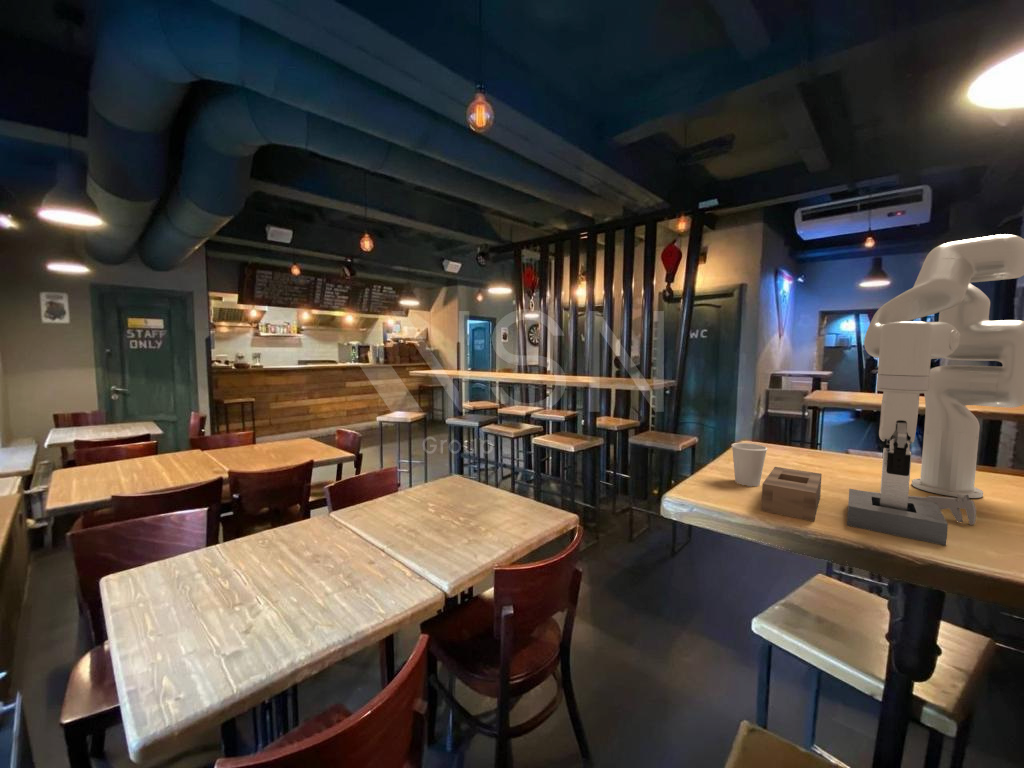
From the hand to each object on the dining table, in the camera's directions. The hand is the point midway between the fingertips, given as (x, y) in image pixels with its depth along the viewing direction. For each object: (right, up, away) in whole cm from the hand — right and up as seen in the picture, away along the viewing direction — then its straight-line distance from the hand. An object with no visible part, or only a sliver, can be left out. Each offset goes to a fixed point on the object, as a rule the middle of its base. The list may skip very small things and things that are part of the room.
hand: (895, 469), depth 85 cm
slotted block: (-13, -10, +12) cm, 20 cm away
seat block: (0, -11, +1) cm, 11 cm away
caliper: (+12, -11, +9) cm, 19 cm away
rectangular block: (0, -10, +1) cm, 10 cm away
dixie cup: (-15, -9, +27) cm, 32 cm away
